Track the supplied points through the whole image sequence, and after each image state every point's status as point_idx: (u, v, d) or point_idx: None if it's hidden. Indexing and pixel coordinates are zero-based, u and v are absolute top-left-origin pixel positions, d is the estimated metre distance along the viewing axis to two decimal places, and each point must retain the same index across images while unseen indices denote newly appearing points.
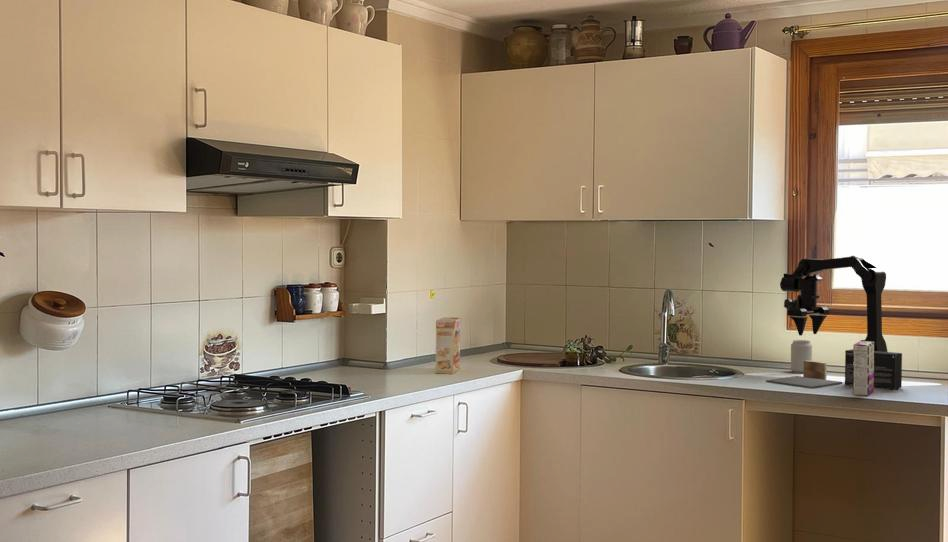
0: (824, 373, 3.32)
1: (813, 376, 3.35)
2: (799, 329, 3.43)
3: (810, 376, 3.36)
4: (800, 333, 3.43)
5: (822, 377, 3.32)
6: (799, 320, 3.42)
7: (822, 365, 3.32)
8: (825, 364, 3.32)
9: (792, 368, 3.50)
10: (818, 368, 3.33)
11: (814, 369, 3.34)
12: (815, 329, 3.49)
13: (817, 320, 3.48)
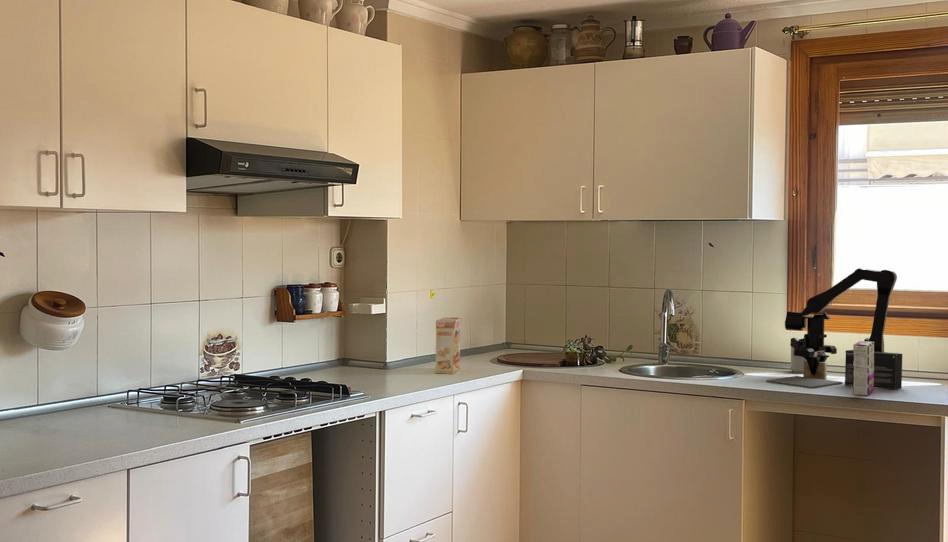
0: (824, 373, 3.32)
1: (813, 376, 3.35)
2: (811, 369, 3.34)
3: (810, 376, 3.36)
4: (812, 373, 3.35)
5: (822, 377, 3.32)
6: (812, 359, 3.34)
7: (822, 365, 3.32)
8: (825, 364, 3.32)
9: (792, 368, 3.50)
10: (818, 368, 3.33)
11: None
12: None
13: (819, 360, 3.35)
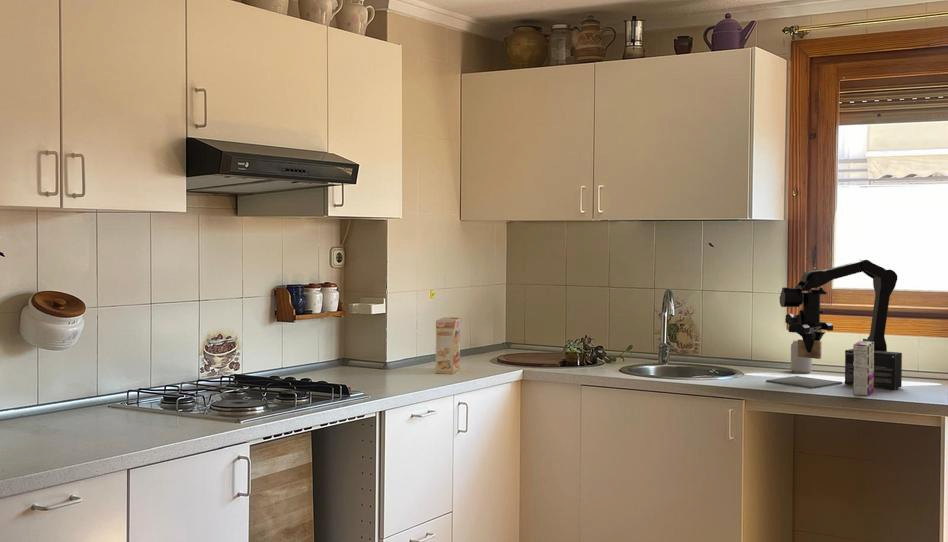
0: (819, 352, 3.21)
1: (808, 355, 3.24)
2: (807, 346, 3.23)
3: (804, 355, 3.25)
4: (808, 350, 3.24)
5: (817, 356, 3.21)
6: (807, 336, 3.23)
7: (817, 343, 3.21)
8: (820, 342, 3.22)
9: (792, 368, 3.50)
10: (813, 347, 3.23)
11: None
12: None
13: (815, 337, 3.24)
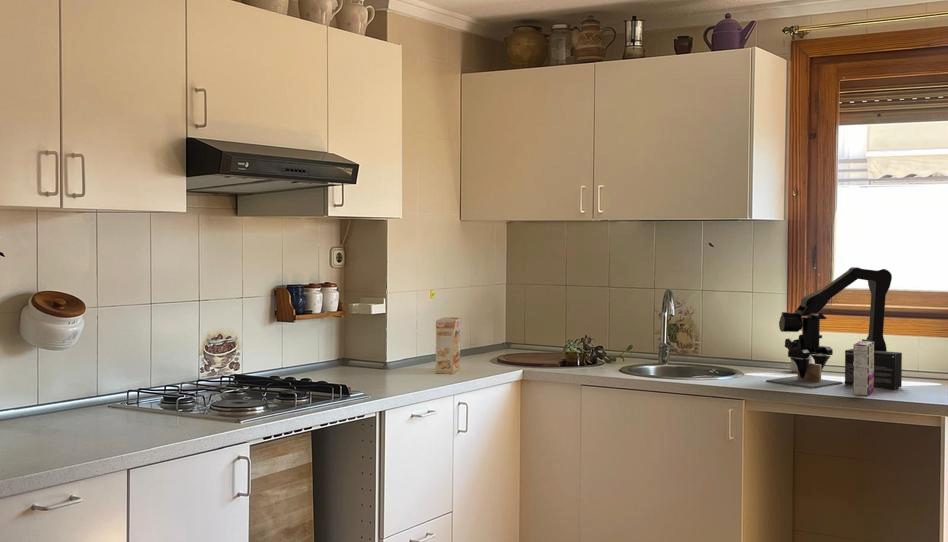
0: (819, 375, 3.22)
1: (807, 378, 3.24)
2: (801, 371, 3.21)
3: (804, 378, 3.25)
4: (802, 376, 3.22)
5: (817, 379, 3.22)
6: (801, 362, 3.21)
7: (817, 367, 3.22)
8: (820, 366, 3.22)
9: (792, 368, 3.50)
10: (813, 370, 3.23)
11: (808, 371, 3.24)
12: None
13: (820, 361, 3.27)
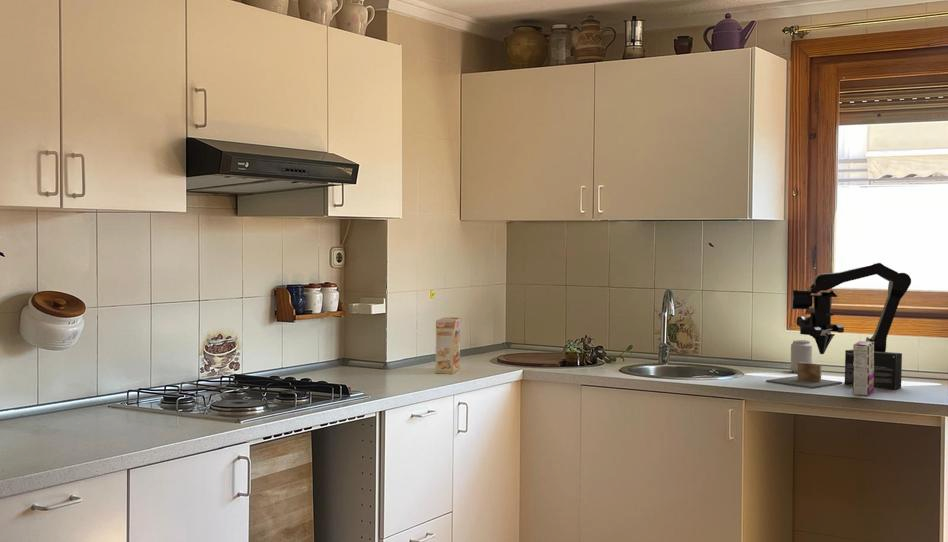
0: (819, 375, 3.22)
1: (807, 378, 3.24)
2: (820, 347, 3.28)
3: (804, 378, 3.25)
4: (821, 352, 3.28)
5: (817, 379, 3.22)
6: (820, 338, 3.27)
7: (817, 367, 3.22)
8: (820, 366, 3.22)
9: (792, 368, 3.50)
10: (813, 370, 3.23)
11: (808, 371, 3.24)
12: None
13: None
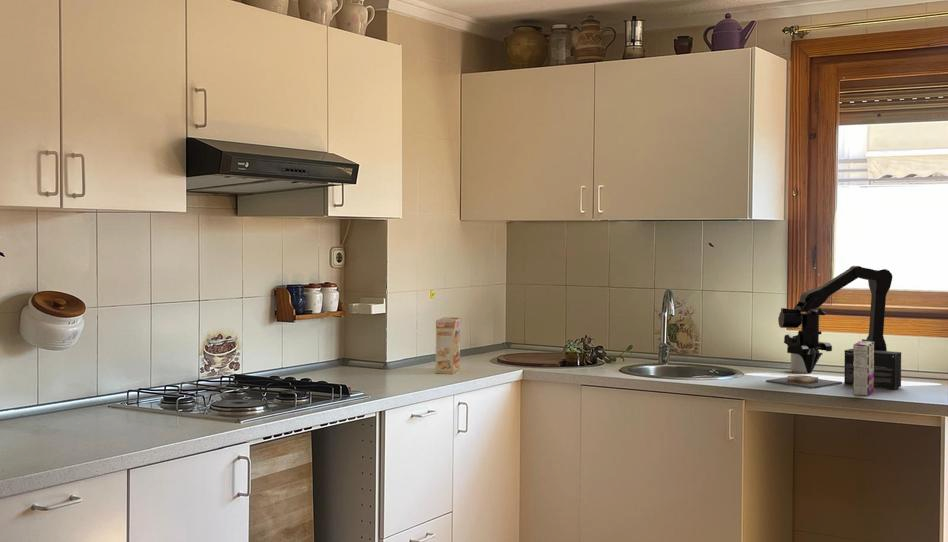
0: (814, 381, 3.20)
1: None
2: (807, 366, 3.24)
3: None
4: (808, 371, 3.24)
5: (815, 382, 3.21)
6: (807, 357, 3.23)
7: (808, 383, 3.18)
8: (809, 380, 3.18)
9: (792, 368, 3.50)
10: None
11: None
12: None
13: None
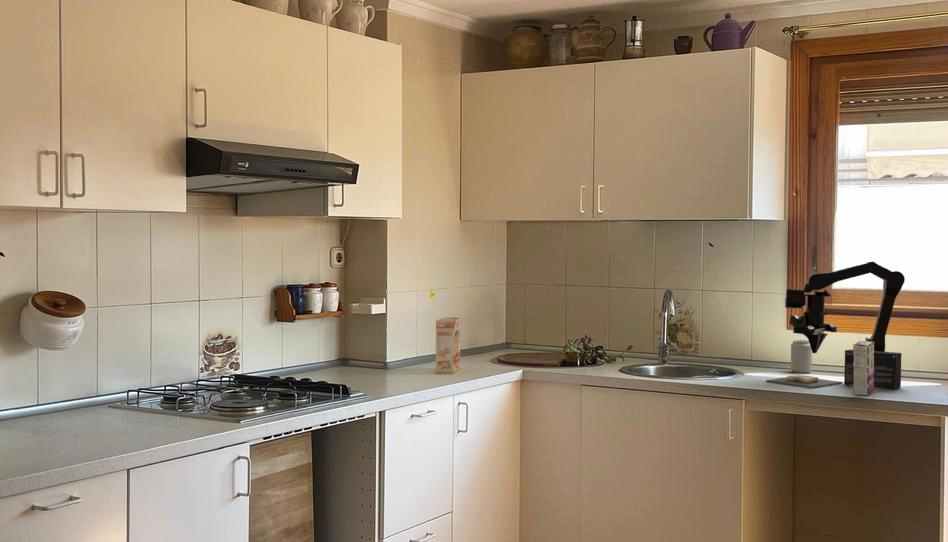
0: (814, 381, 3.20)
1: None
2: (812, 347, 3.29)
3: None
4: (813, 351, 3.30)
5: (815, 382, 3.21)
6: (813, 337, 3.29)
7: (808, 383, 3.18)
8: (809, 380, 3.18)
9: (792, 368, 3.50)
10: None
11: None
12: None
13: None
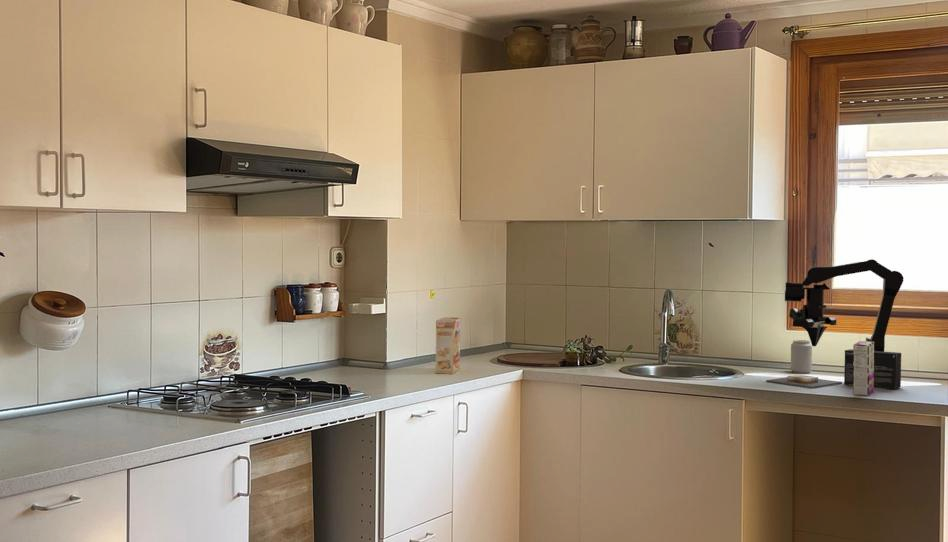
0: (814, 381, 3.20)
1: None
2: (812, 340, 3.30)
3: None
4: (813, 344, 3.31)
5: (815, 382, 3.21)
6: (812, 330, 3.30)
7: (808, 383, 3.18)
8: (809, 380, 3.18)
9: (792, 368, 3.50)
10: None
11: None
12: None
13: None
